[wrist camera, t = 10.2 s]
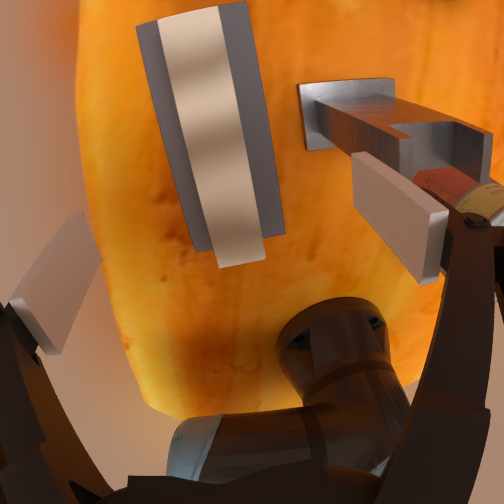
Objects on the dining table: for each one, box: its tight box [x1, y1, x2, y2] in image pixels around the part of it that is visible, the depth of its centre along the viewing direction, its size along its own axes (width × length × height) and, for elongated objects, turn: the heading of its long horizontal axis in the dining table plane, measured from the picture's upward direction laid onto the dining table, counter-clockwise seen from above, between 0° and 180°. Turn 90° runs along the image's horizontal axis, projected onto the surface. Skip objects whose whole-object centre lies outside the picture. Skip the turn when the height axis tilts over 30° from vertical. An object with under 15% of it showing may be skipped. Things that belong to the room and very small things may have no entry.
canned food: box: [413, 167, 504, 302], centre depth 27 cm, size 11×11×12 cm
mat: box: [136, 1, 286, 252], centre depth 26 cm, size 22×9×1 cm, turn 10°
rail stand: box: [297, 78, 493, 184], centre depth 16 cm, size 22×9×15 cm, turn 10°
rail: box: [157, 6, 266, 269], centre depth 24 cm, size 20×4×5 cm, turn 10°
